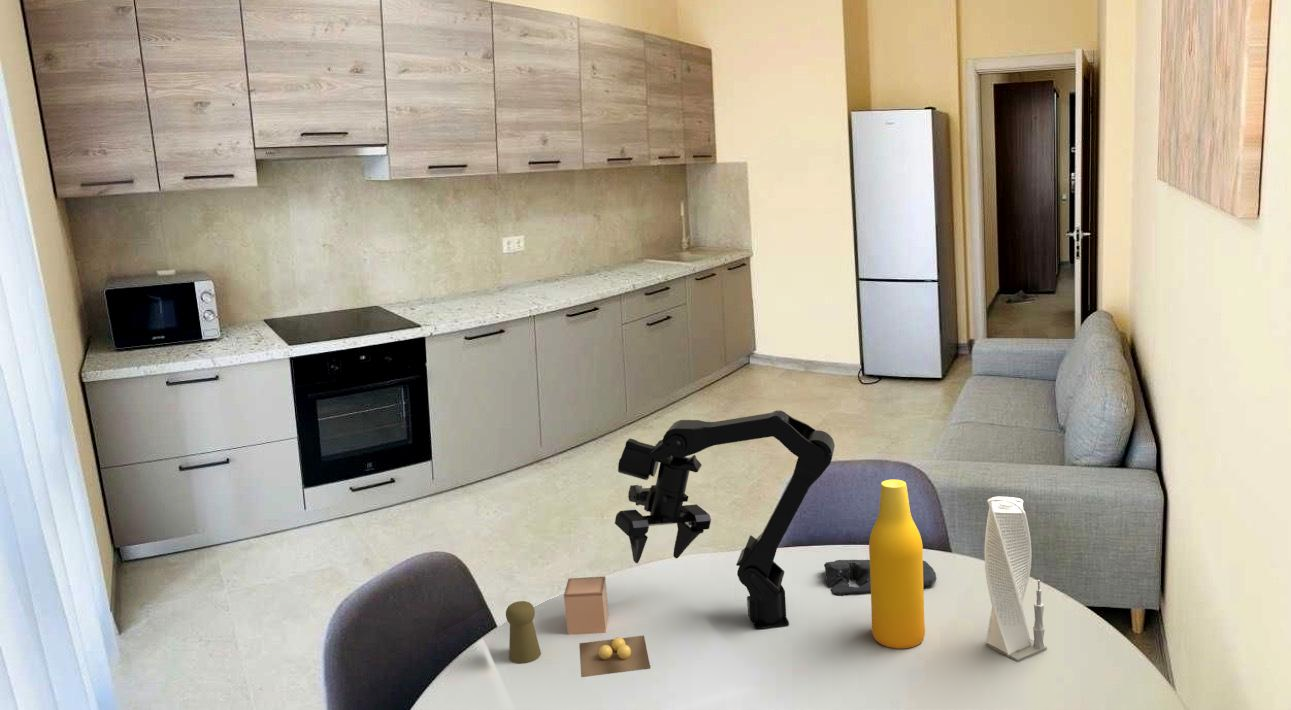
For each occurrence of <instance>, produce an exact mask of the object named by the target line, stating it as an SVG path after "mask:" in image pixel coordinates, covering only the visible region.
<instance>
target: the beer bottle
mask: <svg viewBox="0 0 1291 710" xmlns="http://www.w3.org/2000/svg"><path fill="white" fill-rule="evenodd" d="M879 497H880V498H879V509H878V516H877V519H876V521H875V523H874V526H872V527H873V528H872V529H871V533H870V536H869V541H868V550H869V551H868V552H869V554H868V555H869V560H870V583H871V593H870V603H871V606H870V609H871V631H872V636H873V639H875V641H877V642H878V643H879V644H880V645H882V646H884V647H887V648H892V649H900V650H901V649H910V648H914V647H916V646H919V645H920V644H921V643H922V642H923V641H924V638H925V636H926V634H925V633H926V623H925V601H924V599H925V598H924V597H925V596H924V586H923V561H924V555H923V553H924V552H923V551H924V547H923V541H922V537H921V533H920V531H919V529H918V527H917V525H916V523H915V521H914V519H913V517H912V513H911V509H910V508H911V507H910V502H909V500H910V499H909V493H908V486H907V482H906V481H904V480H901V479H887V480H886V479H885V480H884V481H881V484H880V496H879Z"/></svg>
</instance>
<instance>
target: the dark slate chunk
mask: <svg viewBox="0 0 1291 710" xmlns="http://www.w3.org/2000/svg"><path fill="white" fill-rule="evenodd" d="M823 566H824V571H825V572H824V573H825V581H826V583H827V586H828V588H829V589H830V591H831V592H832V594H834V595H836V596H844V595H845V594H848V595H849V594H858V595H859V594H871V583H870V559H837V560H835V561H828V562H827V561H826V562H825V563H824V564H823ZM849 581H856V584H857V587H855V586H850V583H849ZM936 582H937V573H936V572H935V570H934V567H932V566H931V565H930V564H929V563H928V562H927V561H926V560H923V587H927V586H930V585H935V584H936Z"/></svg>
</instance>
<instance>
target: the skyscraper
mask: <svg viewBox="0 0 1291 710" xmlns="http://www.w3.org/2000/svg"><path fill="white" fill-rule="evenodd" d="M986 501H987V505H988V513H987V521H986V527H985V535H984V536H985V537H984V538H985V539H984V569H985V570H984V571H985V578H986V584H987V590H988V594H989V595H988V596H989V598H990V604H991V611H990V615H989V616H990V617H989V621H988V627H987V633H986V639H985V646H986V647H988V648H991V649H992V650H995V651H997V652H998V653H1000V654H1003V655H1004V656H1006V657H1008V658H1009V659H1012V660H1013V661H1016V662H1017V663H1018V662H1021V661H1023V660H1025V659H1028V658H1031V657H1033V656H1035V655H1038V654H1040V653H1042V652H1044V651H1046V650H1048V647H1047V646H1046V645H1045V643H1044V639H1045V631H1046V630H1045V629H1046V628H1045V627H1044V622H1043V620H1044V619H1043V618H1044V611H1045V610H1044V607H1045V605H1044V603H1043V602H1042V589H1041V580H1040V579H1038V580H1037V588H1036V590H1035V591H1036V602H1034V603H1033V608H1034V609H1033V610H1034V624H1033V625H1034V626H1033V627H1032V629H1033V639H1034V640H1033V639H1031V637H1030V633H1029V628H1028V625H1027V621H1026V617H1025V616H1026V615H1025V614H1024V609H1023V606H1022V605H1023V601H1024V598H1025V595H1026V591H1027V587H1028V584H1029V580H1030V576H1031V568H1032V541H1031V540H1032V539H1031V533H1030V528H1029V523H1028V517H1027V513H1026V511H1025V510H1024V506H1023V505H1024V500H1023V499H1022V498H1019V497H1013V496H992V497H990V498H989V499H987V500H986Z"/></svg>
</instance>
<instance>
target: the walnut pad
mask: <svg viewBox="0 0 1291 710" xmlns="http://www.w3.org/2000/svg"><path fill="white" fill-rule="evenodd" d="M621 638H622V639H624V641H625V644H626V645H627V646H629V647H630V649H631V655H630V657H629V658H627V659H621V658H619V656H618V654H617V651H615V650H614V649H613V648H612V641H613V640H614V639H615V638H611V639H603V640H595V641H594V640H593V641H588V642H581V643H580V642H579V655H580V656H579V657H580V672H581V678H583V677H584V678H585V677H586V678H587V677H593V676H602V675H603V676H604V675H610V674H617V673H627V672H633V671H643V670H649V669H651V665H650V664H651V663H650V660H649V659H650V658H649V654H648V649H647V648H648V647H647V643H646V640H645V635H637V636H636V635H635V636H628V637H621ZM603 645H608V646H610V647H611V648H612V651H613V653H612V656H611V657H610V658H609V659H607V660H604V659H602V658H601V657H600V656H599V649H600V647H601V646H603Z"/></svg>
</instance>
